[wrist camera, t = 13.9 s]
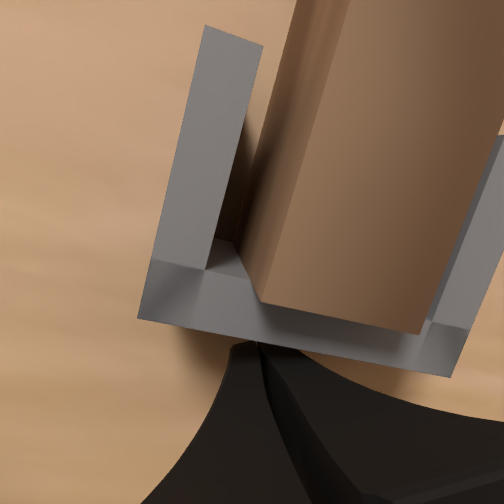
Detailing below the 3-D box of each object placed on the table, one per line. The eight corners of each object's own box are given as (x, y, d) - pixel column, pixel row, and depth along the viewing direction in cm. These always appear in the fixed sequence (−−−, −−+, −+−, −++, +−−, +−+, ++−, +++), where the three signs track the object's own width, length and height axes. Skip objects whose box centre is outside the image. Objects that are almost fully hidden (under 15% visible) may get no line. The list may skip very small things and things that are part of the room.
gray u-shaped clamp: (155, 266, 10) (137, 318, 7) (201, 76, 9) (204, 24, 6) (374, 315, 12) (450, 377, 8) (433, 154, 11) (545, 150, 7)
